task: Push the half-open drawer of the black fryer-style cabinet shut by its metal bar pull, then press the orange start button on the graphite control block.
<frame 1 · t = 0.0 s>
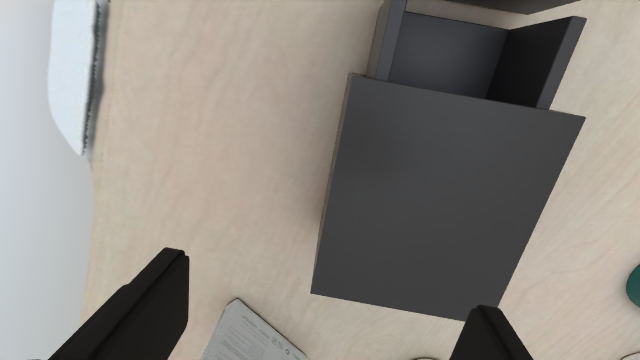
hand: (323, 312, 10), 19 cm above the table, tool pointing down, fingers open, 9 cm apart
drawer: (453, 49, 20), point 5 cm above the table, slide at 6.0 cm
ink box: (267, 330, 36), on the table
fryer: (401, 168, 28), on the table
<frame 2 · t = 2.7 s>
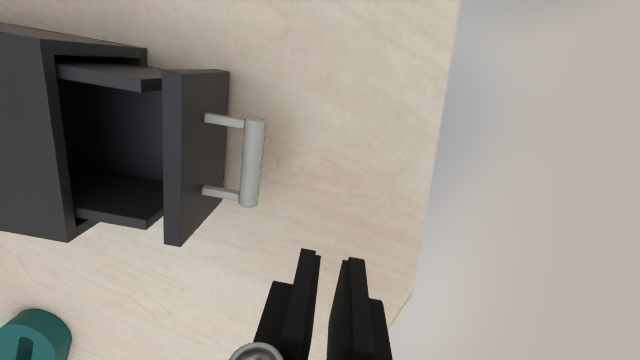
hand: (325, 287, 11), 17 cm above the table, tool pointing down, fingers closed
drawer: (145, 142, 23), point 5 cm above the table, slide at 6.0 cm
fryer: (68, 110, 27), on the table
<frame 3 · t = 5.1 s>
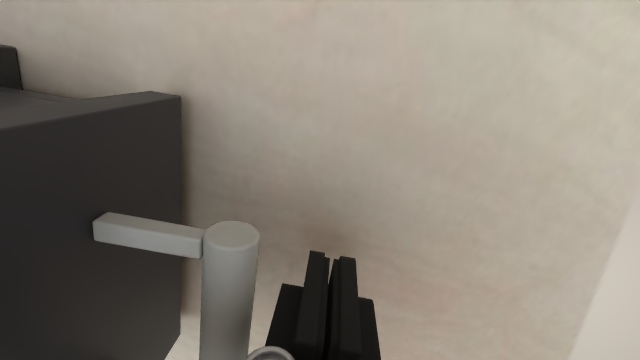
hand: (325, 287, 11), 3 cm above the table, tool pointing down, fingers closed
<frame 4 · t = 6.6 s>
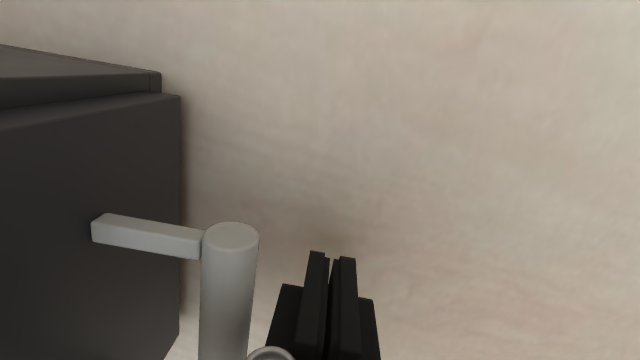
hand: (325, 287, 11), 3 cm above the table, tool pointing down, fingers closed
fryer: (5, 189, 14), on the table
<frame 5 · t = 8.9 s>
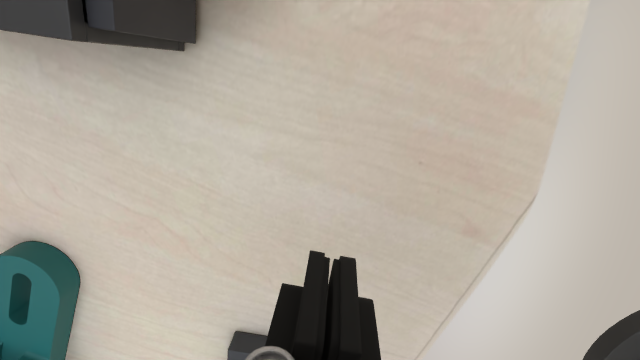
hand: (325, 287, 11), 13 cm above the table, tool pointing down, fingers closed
bracket: (40, 312, 31), on the table
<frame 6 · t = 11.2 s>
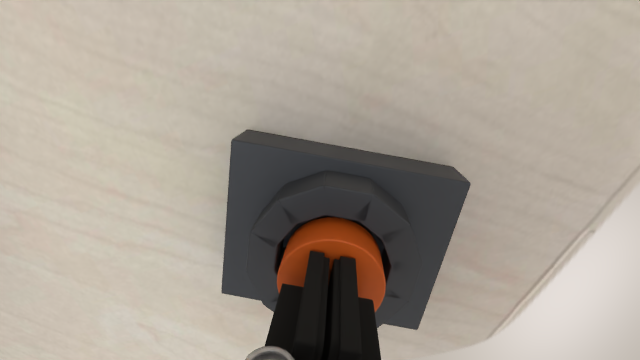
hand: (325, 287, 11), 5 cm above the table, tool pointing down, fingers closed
control block: (334, 221, 16), on the table
start button: (331, 272, 12), point 4 cm above the table, slide at -0.1 cm, touching gripper
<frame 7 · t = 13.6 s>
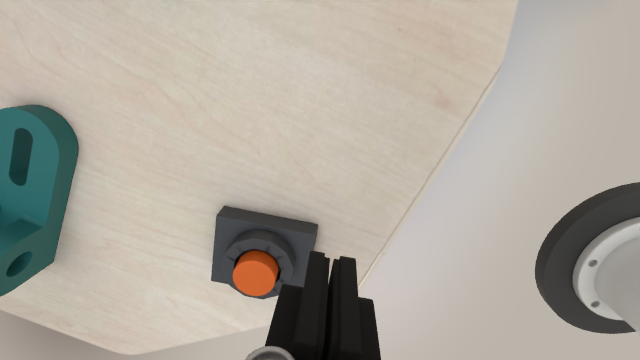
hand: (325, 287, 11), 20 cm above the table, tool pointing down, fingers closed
control block: (266, 247, 34), on the table
bracket: (37, 185, 33), on the table
start button: (256, 273, 30), point 4 cm above the table, slide at 0.1 cm
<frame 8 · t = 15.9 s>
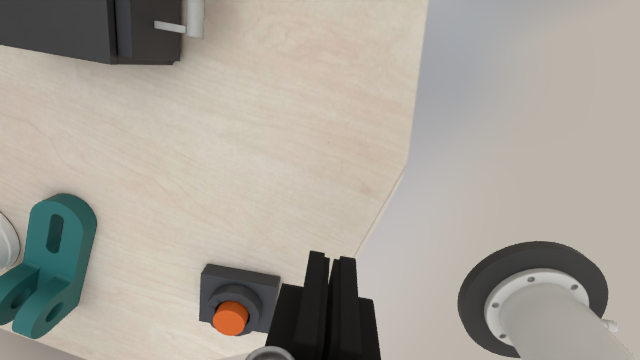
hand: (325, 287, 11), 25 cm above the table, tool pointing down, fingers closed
control block: (241, 293, 43), on the table
bracket: (66, 249, 43), on the table
start button: (230, 318, 39), point 4 cm above the table, slide at 0.1 cm
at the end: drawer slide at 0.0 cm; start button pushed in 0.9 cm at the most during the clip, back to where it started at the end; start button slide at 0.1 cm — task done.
